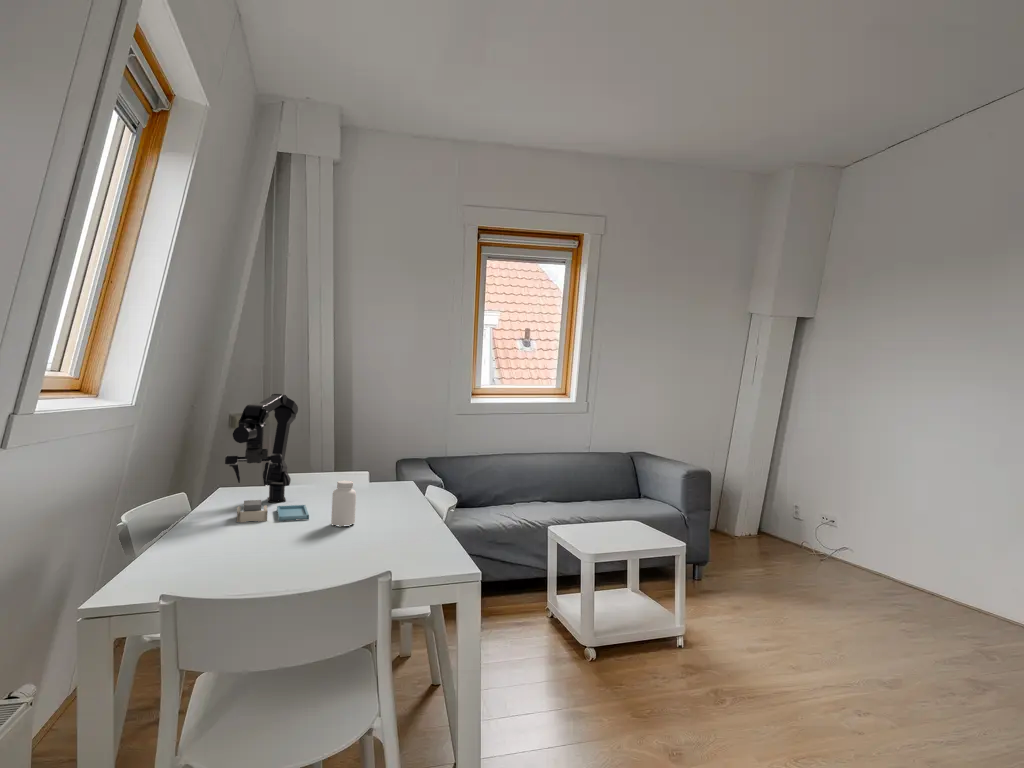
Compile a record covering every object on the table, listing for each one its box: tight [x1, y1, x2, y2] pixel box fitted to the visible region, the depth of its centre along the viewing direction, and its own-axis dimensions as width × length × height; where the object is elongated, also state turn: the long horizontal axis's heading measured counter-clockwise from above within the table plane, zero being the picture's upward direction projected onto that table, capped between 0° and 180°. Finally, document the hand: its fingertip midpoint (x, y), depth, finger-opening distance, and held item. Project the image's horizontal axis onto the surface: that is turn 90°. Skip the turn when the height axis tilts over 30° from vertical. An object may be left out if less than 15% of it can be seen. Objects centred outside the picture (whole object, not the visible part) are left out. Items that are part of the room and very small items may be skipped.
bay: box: [236, 504, 269, 523], centre depth 208 cm, size 8×10×4 cm
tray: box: [276, 504, 310, 522], centre depth 216 cm, size 15×10×2 cm, turn 24°
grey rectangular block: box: [243, 499, 262, 511], centre depth 211 cm, size 12×6×6 cm, turn 25°
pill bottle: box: [330, 480, 357, 526], centre depth 207 cm, size 8×8×15 cm
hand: (253, 482), depth 215 cm, fingers open, 9 cm apart
